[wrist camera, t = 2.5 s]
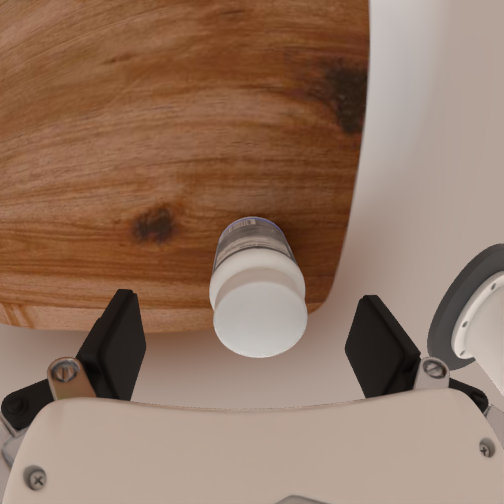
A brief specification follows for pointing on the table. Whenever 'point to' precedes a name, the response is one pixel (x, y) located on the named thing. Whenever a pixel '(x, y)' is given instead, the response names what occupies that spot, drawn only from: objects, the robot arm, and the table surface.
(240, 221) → the pill bottle
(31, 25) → the table surface
